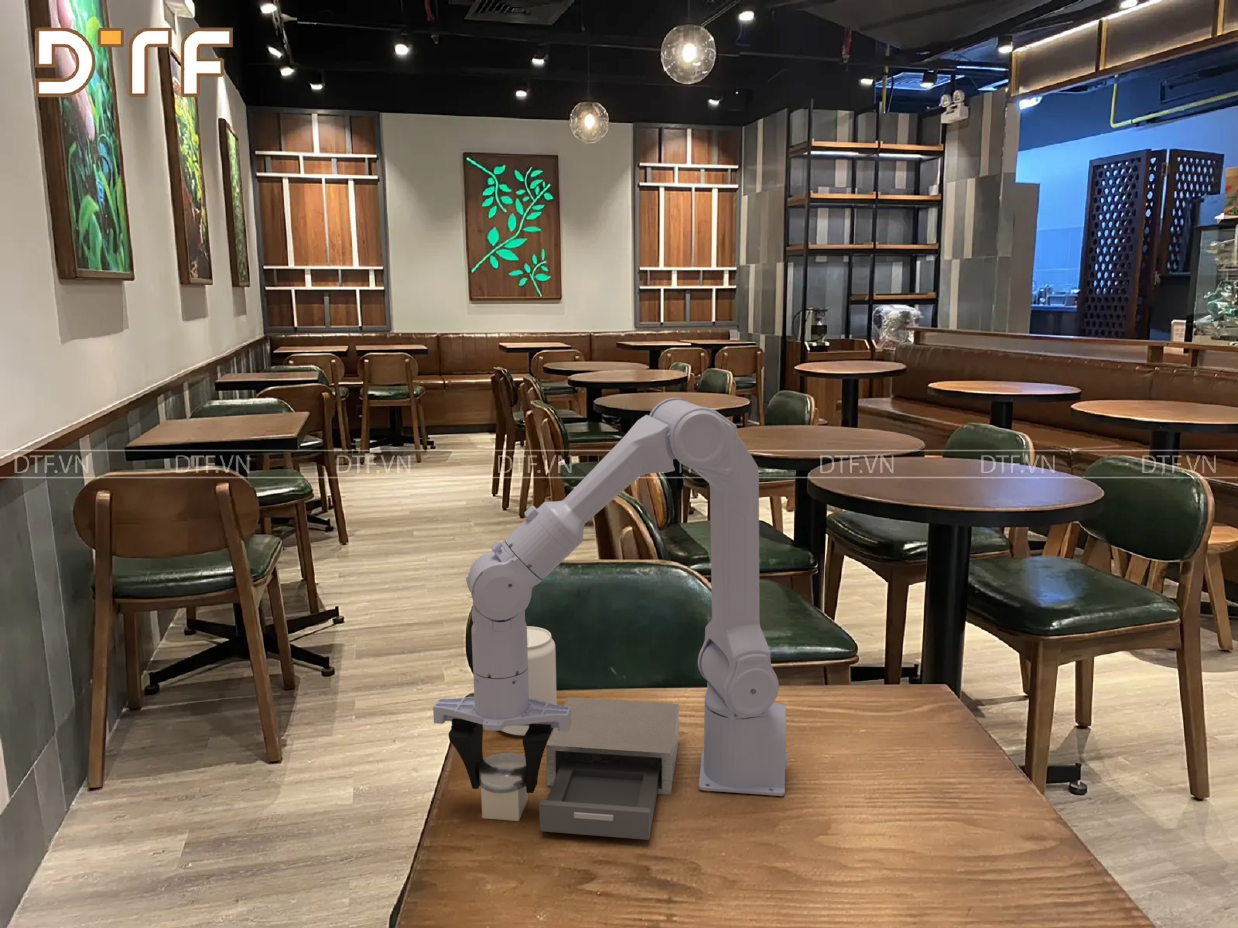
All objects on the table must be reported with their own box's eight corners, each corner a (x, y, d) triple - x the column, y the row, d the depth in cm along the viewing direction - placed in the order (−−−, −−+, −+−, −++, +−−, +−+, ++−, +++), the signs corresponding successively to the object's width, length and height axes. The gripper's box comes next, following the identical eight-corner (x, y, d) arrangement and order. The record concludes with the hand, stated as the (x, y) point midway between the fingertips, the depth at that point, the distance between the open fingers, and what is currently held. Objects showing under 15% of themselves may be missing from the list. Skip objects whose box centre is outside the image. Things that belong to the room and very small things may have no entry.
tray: (659, 779, 98) (659, 755, 98) (648, 841, 87) (648, 814, 87) (562, 772, 100) (561, 748, 99) (539, 832, 89) (538, 805, 88)
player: (678, 741, 108) (679, 703, 108) (670, 794, 97) (671, 753, 96) (568, 734, 110) (567, 697, 109) (547, 785, 99) (546, 745, 98)
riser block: (528, 799, 96) (527, 770, 95) (518, 821, 92) (518, 790, 91) (492, 797, 97) (491, 768, 96) (482, 818, 93) (481, 788, 92)
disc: (534, 767, 96) (534, 754, 96) (522, 795, 91) (522, 781, 90) (487, 764, 97) (486, 751, 96) (472, 791, 91) (472, 777, 91)
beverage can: (561, 710, 117) (559, 625, 114) (551, 740, 109) (549, 650, 107) (502, 708, 118) (499, 623, 115) (487, 738, 110) (484, 647, 107)
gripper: (420, 680, 88) (426, 801, 91) (560, 688, 86) (563, 812, 89) (443, 652, 95) (449, 766, 98) (574, 659, 93) (576, 775, 96)
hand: (504, 786), depth 94 cm, fingers closed on disc, 5 cm apart
